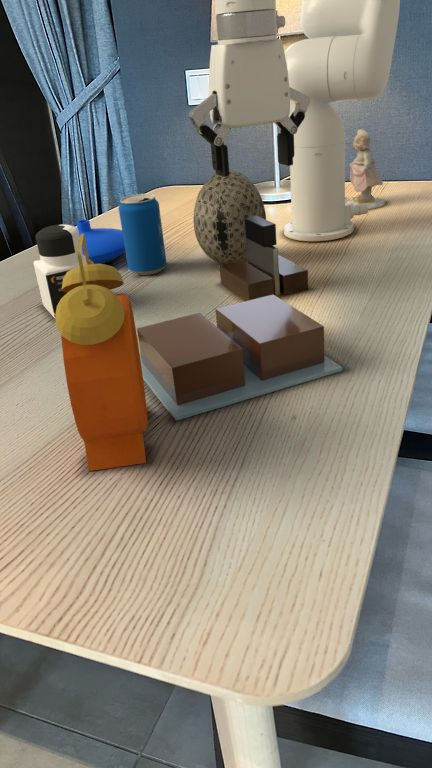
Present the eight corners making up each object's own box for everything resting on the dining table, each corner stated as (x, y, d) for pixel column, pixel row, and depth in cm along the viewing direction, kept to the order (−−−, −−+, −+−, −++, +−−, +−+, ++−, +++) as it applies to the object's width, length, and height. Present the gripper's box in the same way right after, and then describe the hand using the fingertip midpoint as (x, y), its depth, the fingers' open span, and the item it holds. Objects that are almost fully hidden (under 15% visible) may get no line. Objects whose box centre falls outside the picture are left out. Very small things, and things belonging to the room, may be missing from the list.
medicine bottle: (55, 320, 96) (37, 238, 90) (42, 305, 102) (25, 228, 96) (102, 308, 99) (87, 227, 93) (87, 294, 104) (72, 218, 99)
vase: (100, 242, 130) (93, 205, 126) (151, 255, 119) (146, 215, 116) (28, 265, 120) (19, 227, 117) (78, 281, 110) (69, 239, 107)
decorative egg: (274, 251, 115) (269, 161, 107) (260, 275, 105) (254, 177, 98) (209, 252, 118) (200, 164, 111) (189, 275, 108) (178, 180, 101)
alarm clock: (153, 471, 61) (118, 261, 52) (85, 481, 61) (38, 271, 51) (147, 401, 73) (118, 218, 63) (90, 409, 72) (53, 226, 63)
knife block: (276, 271, 106) (275, 252, 104) (308, 289, 98) (308, 269, 96) (221, 284, 103) (219, 265, 101) (249, 304, 95) (248, 284, 93)
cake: (274, 323, 88) (273, 287, 86) (342, 371, 75) (342, 330, 72) (129, 362, 82) (123, 324, 79) (175, 421, 69) (169, 378, 66)
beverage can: (161, 276, 109) (151, 202, 103) (123, 277, 110) (111, 203, 104) (171, 263, 114) (162, 192, 108) (135, 264, 116) (124, 193, 110)
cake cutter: (256, 277, 104) (252, 213, 100) (284, 294, 97) (280, 226, 92) (244, 280, 104) (239, 215, 99) (271, 297, 96) (268, 228, 91)
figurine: (319, 203, 138) (334, 126, 134) (349, 208, 144) (365, 135, 140) (360, 210, 130) (378, 129, 126) (390, 215, 137) (408, 138, 133)
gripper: (292, 25, 90) (296, 157, 98) (172, 36, 85) (186, 175, 92) (322, 22, 84) (323, 163, 92) (194, 34, 78) (207, 183, 86)
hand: (254, 169), depth 92 cm, fingers open, 9 cm apart
